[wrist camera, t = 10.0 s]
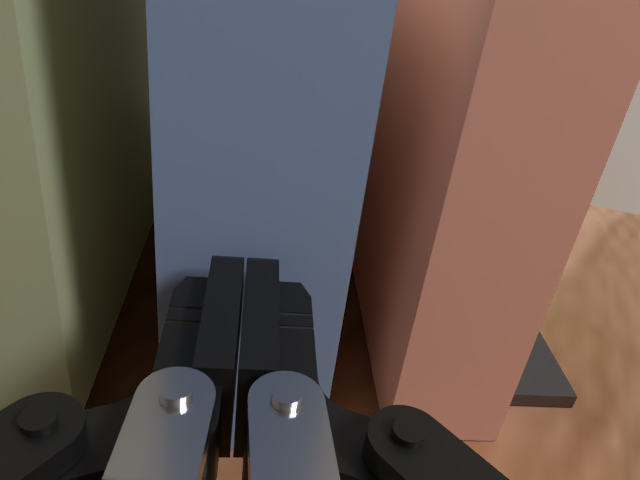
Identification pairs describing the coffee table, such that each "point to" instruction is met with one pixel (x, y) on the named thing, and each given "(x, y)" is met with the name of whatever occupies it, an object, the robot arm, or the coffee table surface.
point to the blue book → (265, 142)
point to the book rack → (379, 199)
